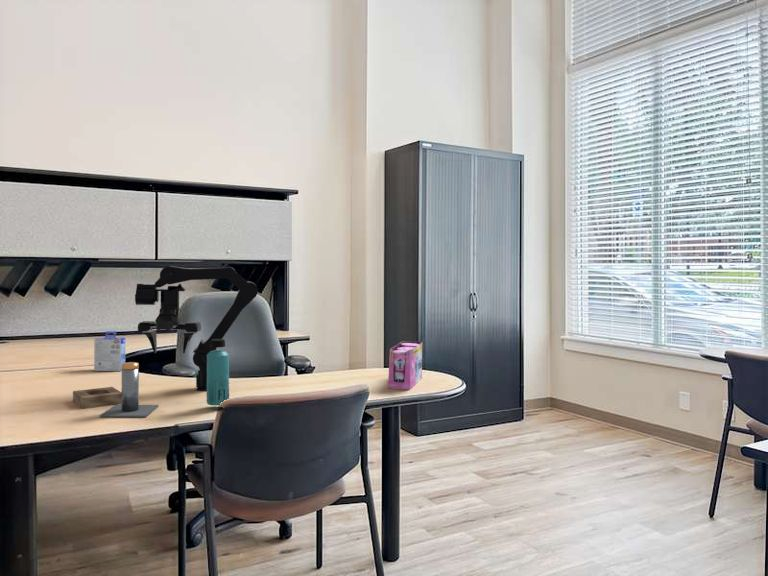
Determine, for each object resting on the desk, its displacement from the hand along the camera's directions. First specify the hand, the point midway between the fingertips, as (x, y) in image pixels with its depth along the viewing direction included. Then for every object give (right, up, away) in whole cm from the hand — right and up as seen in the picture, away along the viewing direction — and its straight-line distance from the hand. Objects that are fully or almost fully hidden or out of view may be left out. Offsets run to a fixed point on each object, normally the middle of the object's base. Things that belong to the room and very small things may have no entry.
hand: (169, 353), depth 201 cm
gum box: (+77, -13, +20) cm, 81 cm away
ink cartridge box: (-34, -10, +32) cm, 48 cm away
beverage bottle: (+21, -14, -22) cm, 34 cm away
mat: (-1, -13, -28) cm, 32 cm away
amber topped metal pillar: (-1, -13, -28) cm, 31 cm away
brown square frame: (-15, -13, -18) cm, 27 cm away
